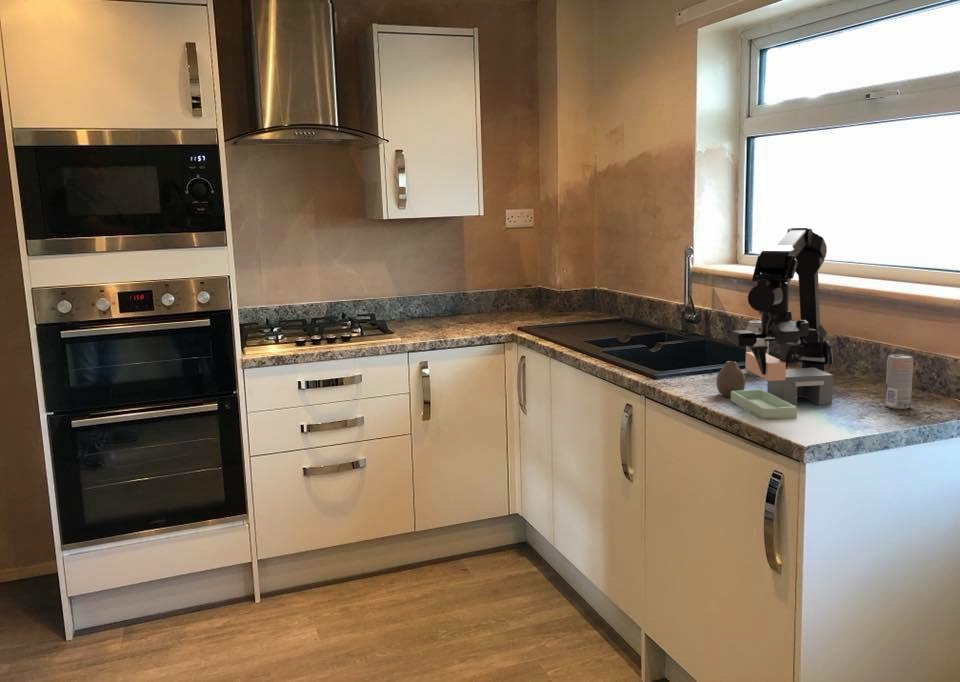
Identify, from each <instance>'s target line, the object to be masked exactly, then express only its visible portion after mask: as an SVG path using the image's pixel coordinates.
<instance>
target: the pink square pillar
mask: <svg viewBox="0 0 960 682" xmlns="http://www.w3.org/2000/svg"><path fill="white" fill-rule="evenodd" d="M746 369H747V370H749V371H751V372H753V373H755V374H756V375H758V376H757V377H760V378H762V379H764V380H766V381H767V382H768V381H776V380H785V375H786V369H787V368H786V363H785V362H783V361H781V360H780V358H777V357H775V356H772V355H770V354H769V355H768V354H766V374H765V375H763V374H762V373H761V370H760V368H759V365H758V363H757V360H756V358H755V356H754V354H753V352H746V351H745V370H746Z"/></svg>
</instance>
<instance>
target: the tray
mask: <svg viewBox="0 0 960 682" xmlns="http://www.w3.org/2000/svg"><path fill="white" fill-rule="evenodd" d="M730 401H731V402H732V403H733V402H734V403H733V404H735V403H736V405H737V406H738V405H739V406H738V407H740V406H741V407H740V408H742V409H743V408H744V409H743V410H745V409H746V410H745V411H747V412H748V411H749V413H750V412H751V413H750V414H752V415H753V414H754V415H753V416H755V415H756V416H755V417H757V418H758V417H759V419H760V418H761V420H762V419H767V420H781V419H782V420H783V419H797V415H798V407H797V405H796V406H794V405H792V404H790V403H788V402H786V401H784V400H782V399H780V398H778V397H776V396H774V395H772V394H770V393H768V392H767V390H764V389H763V388H761V389H744V390H739V391H731V398H730Z"/></svg>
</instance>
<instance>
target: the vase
mask: <svg viewBox="0 0 960 682" xmlns="http://www.w3.org/2000/svg"><path fill="white" fill-rule="evenodd" d="M716 388H717V391H718V393H719V394H720V395H721V396H722V397H724V398H729V397H731V391H739V390H745V388H746V377H745V375H744V372H743V371H742V369H741V368H740V367H739V365H738V363H737V361H734V360H728V361H726V362H725V364H724V365H723V367H722V368H721V369H720V370H719V371H718V374H717V375H716Z"/></svg>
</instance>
